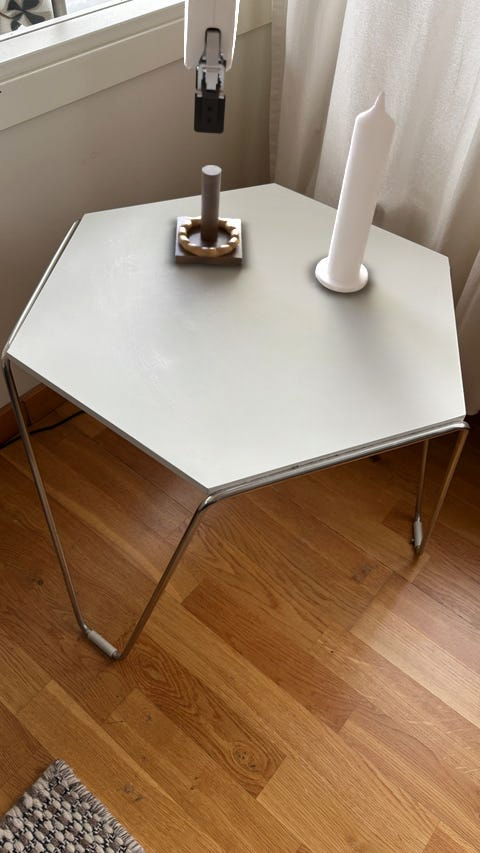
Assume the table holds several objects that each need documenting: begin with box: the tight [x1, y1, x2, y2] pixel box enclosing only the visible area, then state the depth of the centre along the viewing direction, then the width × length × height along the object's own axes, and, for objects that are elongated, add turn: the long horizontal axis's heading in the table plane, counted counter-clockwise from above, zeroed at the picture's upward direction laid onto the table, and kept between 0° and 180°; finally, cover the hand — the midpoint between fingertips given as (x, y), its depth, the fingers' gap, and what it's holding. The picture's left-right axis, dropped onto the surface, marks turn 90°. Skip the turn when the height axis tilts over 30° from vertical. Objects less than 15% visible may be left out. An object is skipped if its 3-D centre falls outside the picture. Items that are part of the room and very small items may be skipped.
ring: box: [178, 215, 239, 257], centre depth 97 cm, size 8×8×1 cm
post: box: [174, 164, 243, 266], centre depth 94 cm, size 9×9×11 cm
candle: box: [315, 90, 397, 294], centre depth 86 cm, size 7×7×25 cm
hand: (208, 110), depth 80 cm, fingers open, 9 cm apart
